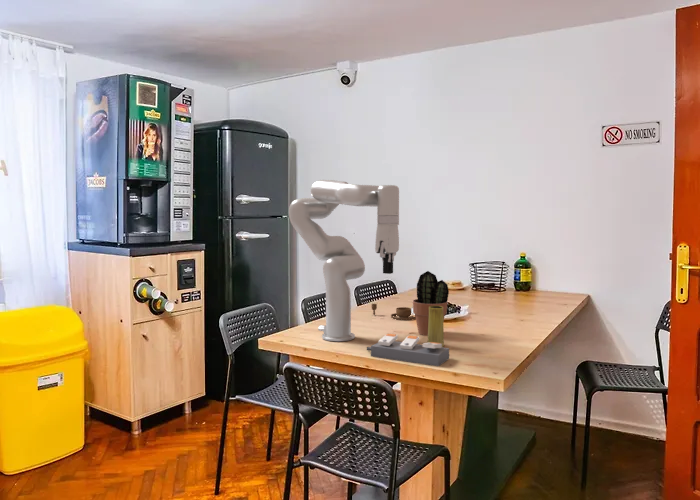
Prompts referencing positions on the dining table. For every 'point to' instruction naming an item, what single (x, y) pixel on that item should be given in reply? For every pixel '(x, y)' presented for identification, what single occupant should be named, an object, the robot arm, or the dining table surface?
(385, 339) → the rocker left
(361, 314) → the dining table surface
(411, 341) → the rocker mid
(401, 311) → the place setting
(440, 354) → the power strip
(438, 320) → the vase
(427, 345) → the rocker right
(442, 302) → the potted plant
